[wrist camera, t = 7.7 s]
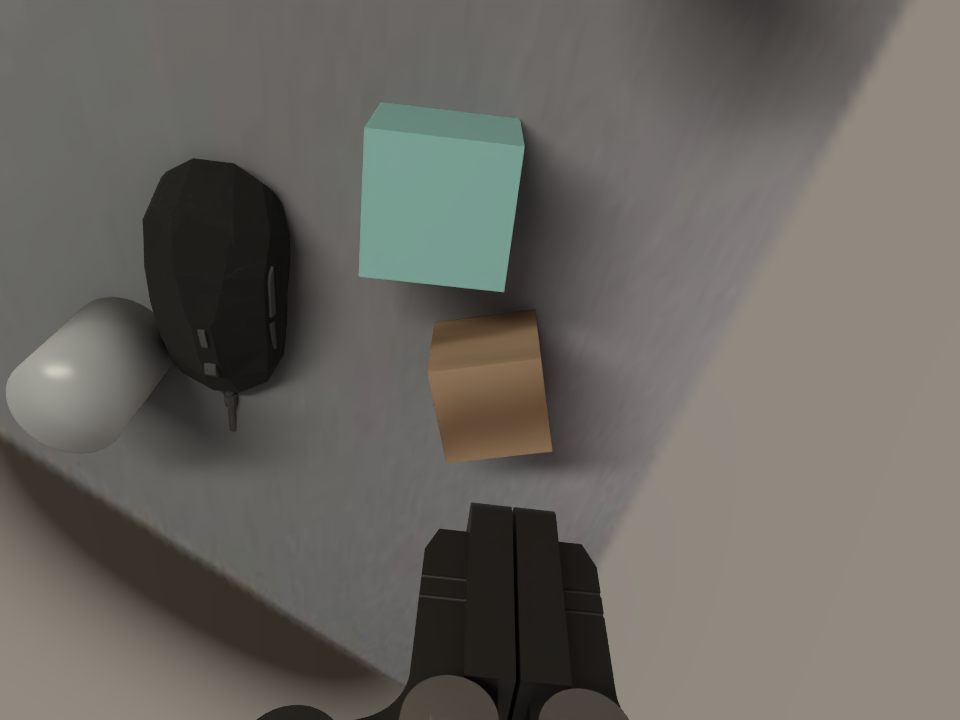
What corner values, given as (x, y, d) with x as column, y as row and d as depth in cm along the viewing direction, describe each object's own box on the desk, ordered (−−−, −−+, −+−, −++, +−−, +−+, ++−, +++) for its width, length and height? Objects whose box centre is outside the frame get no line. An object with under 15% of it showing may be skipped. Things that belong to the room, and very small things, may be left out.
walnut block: (434, 321, 37) (427, 372, 33) (535, 308, 37) (541, 358, 33) (451, 405, 40) (446, 463, 35) (545, 394, 39) (552, 451, 35)
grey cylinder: (66, 291, 37) (-5, 350, 31) (169, 303, 37) (117, 363, 32) (80, 379, 39) (17, 447, 34) (177, 389, 39) (129, 458, 34)
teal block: (381, 101, 32) (364, 127, 28) (519, 118, 33) (524, 146, 28) (374, 234, 35) (358, 276, 31) (502, 248, 35) (503, 292, 31)
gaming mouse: (176, 421, 41) (146, 466, 37) (149, 146, 33) (109, 170, 30) (293, 433, 41) (274, 479, 37) (291, 163, 34) (268, 189, 30)
